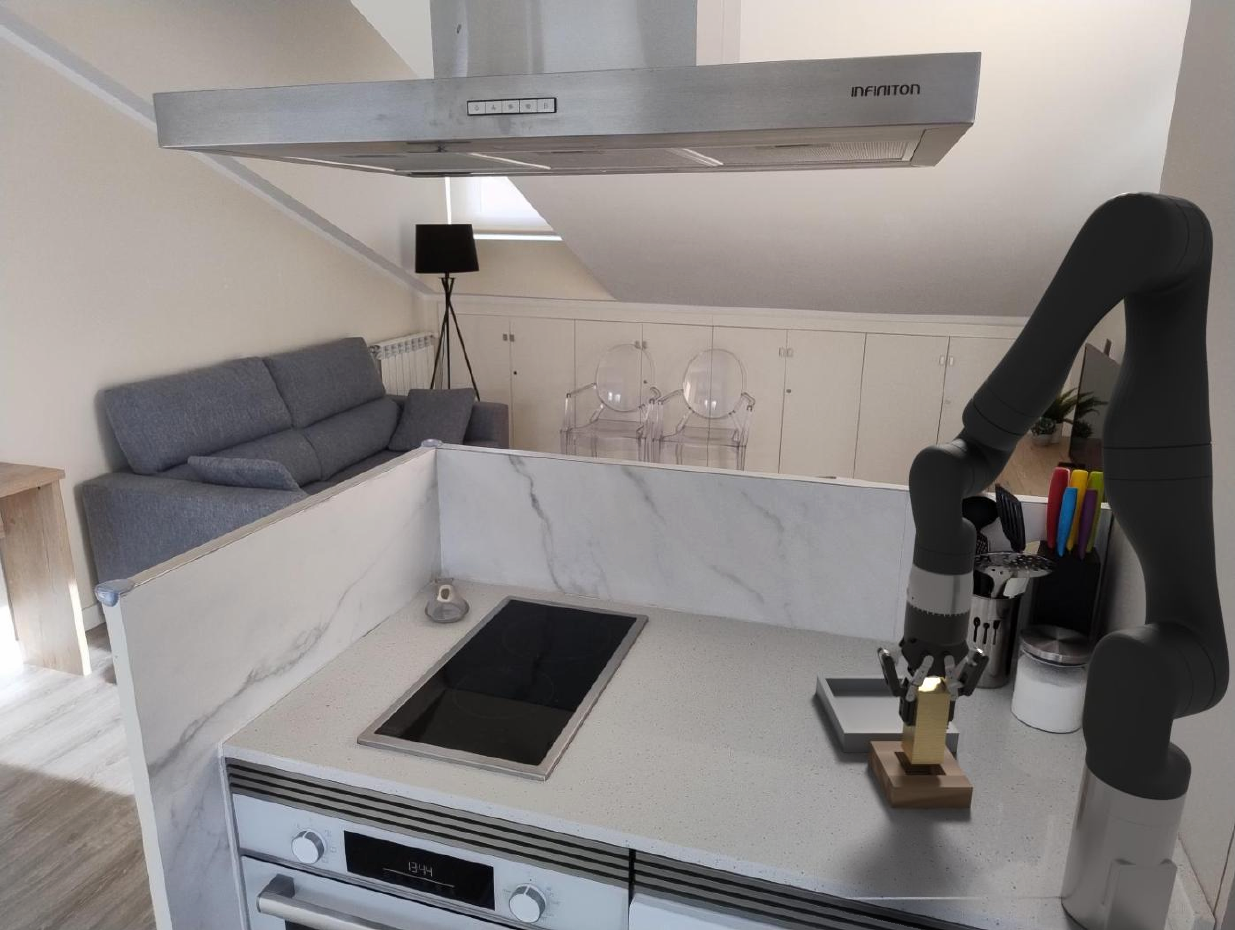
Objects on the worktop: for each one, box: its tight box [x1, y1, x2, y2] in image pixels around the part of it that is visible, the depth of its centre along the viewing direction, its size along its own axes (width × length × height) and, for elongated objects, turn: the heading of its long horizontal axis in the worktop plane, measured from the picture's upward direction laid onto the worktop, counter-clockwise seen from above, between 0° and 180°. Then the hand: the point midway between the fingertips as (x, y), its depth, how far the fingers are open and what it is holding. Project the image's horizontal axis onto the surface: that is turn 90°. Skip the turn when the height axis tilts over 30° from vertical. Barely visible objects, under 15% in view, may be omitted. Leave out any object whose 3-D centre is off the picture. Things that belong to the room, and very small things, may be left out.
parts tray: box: [815, 674, 960, 753], centre depth 129 cm, size 16×16×3 cm
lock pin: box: [901, 677, 951, 764], centre depth 113 cm, size 4×4×10 cm
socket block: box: [868, 741, 974, 809], centre depth 115 cm, size 10×10×3 cm
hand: (925, 722), depth 113 cm, fingers closed on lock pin, 4 cm apart
